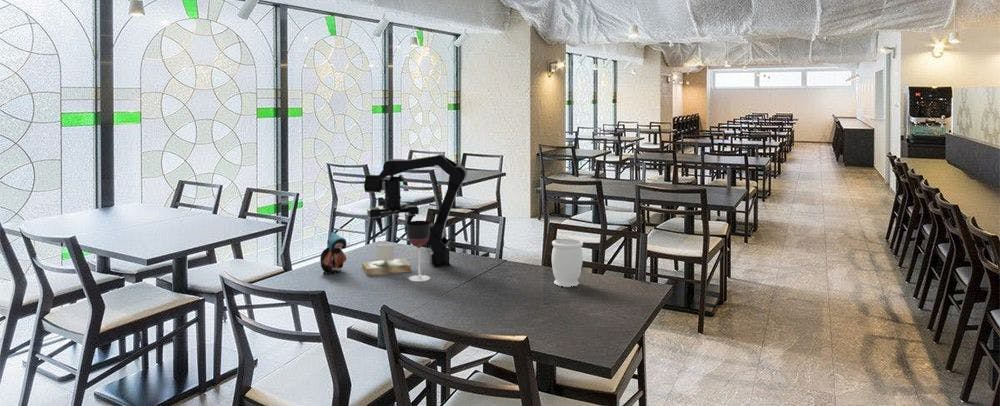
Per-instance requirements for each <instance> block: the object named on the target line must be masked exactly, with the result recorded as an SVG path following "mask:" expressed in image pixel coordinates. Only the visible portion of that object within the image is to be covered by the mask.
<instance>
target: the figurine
mask: <svg viewBox="0 0 1000 406" xmlns="http://www.w3.org/2000/svg"><path fill="white" fill-rule="evenodd" d="M346 240H347V239H346V238H344V237H342V236H340V235H339V234H337V233H336V232H335V231H333V230H332V232H331V233H330V237H329V238H328V239H327V243H326V244H327V245H328V247H326V248H325V249H324V250H322V252H321V254H320V261H319V262H320V267H321V269H322V271H323V272H322V275H324V276H328V275H333V274H337V273H340V272H341V271H342V268H344V263H345V262H346V261H347V259H348V258H347V256H346V254H345V253H344V251H343V250H342V249H346V248H347V241H346Z"/></svg>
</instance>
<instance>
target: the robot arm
mask: <svg viewBox="0 0 1000 406" xmlns="http://www.w3.org/2000/svg"><path fill="white" fill-rule="evenodd" d="M430 167H439V168H440V169H441V170H442V171H443V172H444V173H446V174H448V175H449V176H448V182H447V189H446V193H445V195H444V198H443V200H442V203H441V205H440V207H439V212H438V214H437V217H436V219H435V222H434V223H433V222H430V235H429V239H428V241H427V243H426V244H427V245H428V246H430V249H431V252H430V253H429V262H430V264H431V266H432V267H434V268H439V267H441V268H442V267H448V266H451V262H450V248H448V247H449V245H450V241H449V239H447V238H446V236H445V233H446V232H445V231H446V225H447V221H448V217H449V215H450V212H451V209H452V207H453V204H454V201H455V199H456V197H457V193H458V190H459V189H460V188H461V186H462V185H463V183H464V181H465V180H466V178H467V176H468V170H467V168H466V167H465V166H464V165H462V164H457V163H456V162H454V161H453V160H452V159H449V158H448V157H446V155H444V154H441V153H440V154H437V155H429V156H425V157H418V158H414V159H412V158H411V159H402V158H401V159H399V158H392V159H388V160H387V161H385V162H384V163H383V166H382V170H381V171H380V173H379V174H365V178H364V184H363V189H364V192H365V193H376V194H377V193H382V191H384V197H377V206H375V207H374V206H373V207H368V208H367V210H366V214H367V216H368V217H370V218H372V220H375V222H376V224H377V227H378V229H379V232H380V234H381V235H384V234H383V232H384V231H383V230H384V229H383V218H382V216H381V215H386V214H387V215H388V214H389V215H390V214H404V233H407V223H408V222H411V221H413V218H414V217H416V215H419V214H420V212H419V211H420V210H419V209H420V208H419V207H418V206H417V205H415V204H409V205H408V204H407V205H406V204H405V206H404V207H401V205H402V204H401V199H402V196H401V182H405V181H406V178H405V177H404V176H403V174H401V173H404V172H407V171H411V170H418V169H425V168H430ZM398 174H399V175H398ZM396 175H398V176H396ZM387 177H390V178H387ZM379 207H382V208H379Z"/></svg>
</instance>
